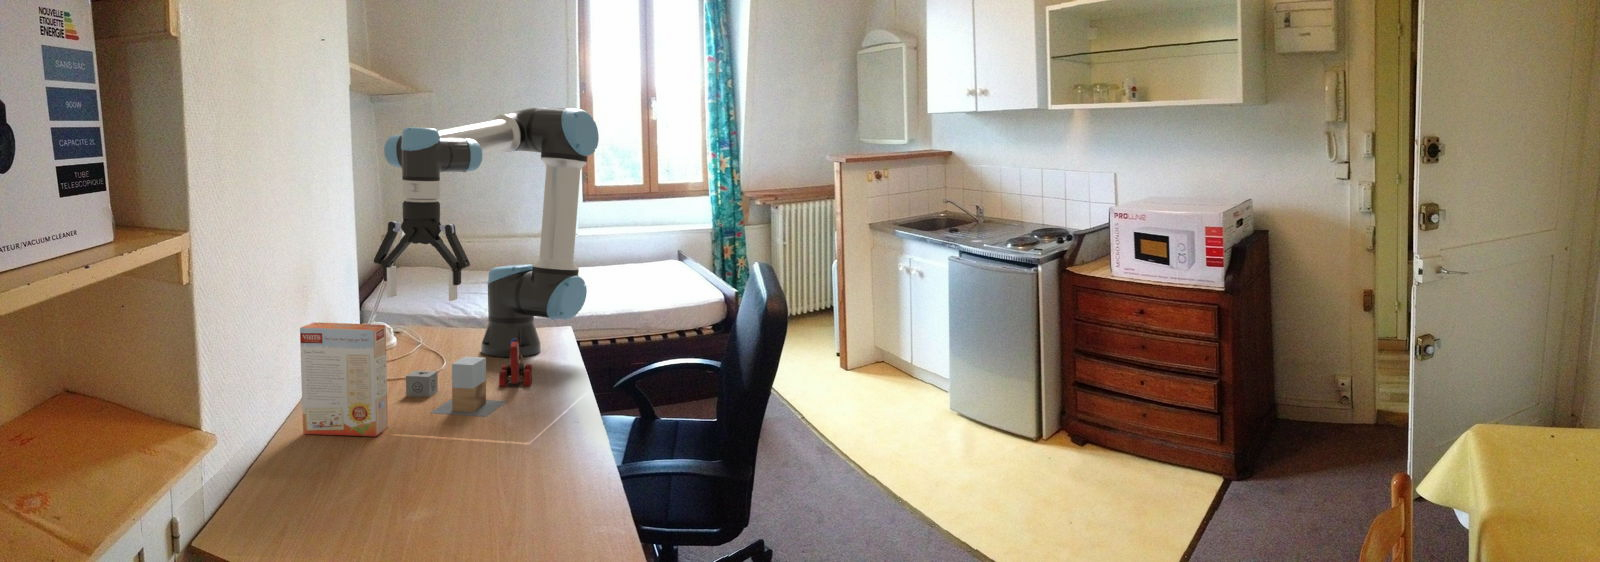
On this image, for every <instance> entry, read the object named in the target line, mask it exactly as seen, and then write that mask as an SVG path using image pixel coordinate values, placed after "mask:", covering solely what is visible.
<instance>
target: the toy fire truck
mask: <svg viewBox="0 0 1600 562" xmlns="http://www.w3.org/2000/svg"><path fill="white" fill-rule="evenodd" d="M510 344H511V347H510V356H509V357H508V359H509V363H508V365H507V364H502V365H501V369H500V370H499V375H498V380H499V381H498V383H499V388H505V387H507V385H508V382H511V384H512V385H515V384H519V383H520V382H522V383H523V385H522V386H523V387H524V388H525V387H531V384H532V383H531V382H532V381H533V366H532V364H524V363H523V362H522V361H523V356H522V355H521V354H520V352H519V340H518V339H516V338H514V339H512V340H511V342H510Z"/></svg>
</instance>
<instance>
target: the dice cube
mask: <svg viewBox="0 0 1600 562" xmlns="http://www.w3.org/2000/svg"><path fill="white" fill-rule="evenodd" d="M438 379H439V378H438V371H436V370H413V371H412V372H410V373H408V374H407V375H405V396H406V397H411V398H413V397H415V398H430V397H431V396H433V395H434V394H436V393H437V392H438V389H439V387H438Z"/></svg>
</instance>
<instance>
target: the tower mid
mask: <svg viewBox="0 0 1600 562" xmlns="http://www.w3.org/2000/svg"><path fill="white" fill-rule="evenodd" d="M486 359H487V357H481V356H464V357H462V358H460V359H458V360H456V361H454V362H453V363H452V364H451V388H452V387H454V388H470V389H473V388H475V387H476V386H478V385H480V384H481V383H483V382H484V381H486V382H487V360H486Z"/></svg>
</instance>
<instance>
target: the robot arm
mask: <svg viewBox="0 0 1600 562" xmlns="http://www.w3.org/2000/svg"><path fill="white" fill-rule="evenodd" d="M598 145H599V130H598V125H597V123H596V121H594V118H593V116H592V115H591V114H589V112H588V111H586V110H584V109H579V108H573V107H541V106H540V107H538V106H537V107H530V108H529V107H528V108H525V109H521V110H516V111H511V112H507V113H502V114H499V115H496V116H495V117H493V119H492V120H488V121H487V120H486V121H482V122H476V123H470V124H465V125H461V126H460V125H459V126H455V127H449V128H444V129H438V128H433V127H432V128H431V127H413V126H412V127H411V126H410V127H409V126H408V127H405V128H403V129H402V133H401V134H393V135H391V136H390V137H388V139H387V140H386V141H385V144H384V146H383V154H384V158H385V159H386V162H387V164H389V165H390V166H392V167H394V168H401V172H402V173H401V174H402V175H401V176H402V181H401V182H402V183H401V184H402V193H401V194H402V195H401V196H402V198H403V199H405V200H403V202H402V219H403V220H402V222H399V221H397V220H393V221H389V222H388V223H387V231H386V234H385V236H384V237H383V239H382V242H381V244H380V246H379V248H378V250H377V253H376V254H375V256H374V258H373V263H374V264H378V265H380V266H382V278H383V279H382V280H383V281H384V282H386V291H387V292H386V296H387V298H394V297H396V296H397V266H396V265H394V263H395V262H396V260H397V259H398V258H399V257H400V256H401V255H402V253H404V251H405V250H407V248H408V246H410V245H411V244H415V245H417V244H422V245H429V244H430V245H431V246H432V247H433V248H435V250H436V251H437V252H438V254H440V256H441V257H442V258H443V260H445V262H446V264H448V266H449V267H450V268H451V269H450V270H448V301H449V302H453V301H456V300H457V299H458V286H459V285H461V283H462V270H463V269H465V268H468V267H470V266H471V262H470V260H469V258H468V256H467V254H466V252H465V250H464V248H463V246H462V244H461V242H460V240H459V238H458V236H457V233H456V231H457V230H456V225H455V224H454V223H449V224H441V203H440V201H438V200H439V199H441V188H440V187H441V185H440V184H441V182H440V181H441V173H442V172H443V173H445V172H446V173H466V172H473V171H475V170H478V168H479V167H480V166H481V165H482V162H483V154H487V153H493V152H498V151H501V152H505V153H512V152H514V151H515V152H521V151H522V152H533V153H540V160H541V161H542V163H544V164H545V178H544V191H543V192H544V193H543V203H542V204H543V207H542V217H541V218H542V220H541V230H540V244H539V245H540V247H539V257H538V258H539V259H538V260H537V261H536V262H534V263H533V264H531V263H530V264H528V263H527V264H513V265H503V266H502V265H501V266H497V267H492V268H491V269H490V270H489V271H488V277H487V278H488V281H487V309H488V310H487V314H488V315H487V316H488V319H487V320H488V321H487V327H486V330H485V332H484V335H483V338H482V341H481V345H480V346H481V347H480V348H481V353H482V354H483V355H486V356H490V357H498V358H500V357H501V358H509V356H510V347H511V344H510V342H511V340H512V339H514V338H516V339H518V340H519V352H520V354H521V355H522V357H528V356H533V355H536V354H538V353H540V352H541V344H542V343H541V341H540V337H539V334H538V331H537V328H536V325H535V317H539V318H544V319H545V318H547V319H550V320H553V321H555V320H556V321H557V320H560V321H561V320H562V321H567V320H571V319H573V318H574V317H576V316H577V315H578V314H579V312H580V311H581V310H582V308H583V307H584V306H585V302H586V299H587V295H588V294H587V291H588V289H587V285H586V281H585V280H584V279H583V277H581V276H580V275H579V273H580V272H579V271H580V270H579V266H577V265H576V263H575V262H574V260H575V259H574V258H575V257H574V256H575V246H576V234H577V233H576V229H577V222H578V221H577V219H578V218H577V217H578V204H579V194H580V193H579V192H580V181H581V180H580V179H581V170H582V169H583V167H585V166H586V165H587V164H588V157H589V156H591V155H593V154H594V153H595V152H596V149H597V148H598ZM400 231H402V232H403V233H404V236H403V237H402V238H401V239H400V240H399V242H398V244H396V246H395V247H394V248H393V249H392V250H391V252H390V249H391V248H392V246H393V244H394V241H395V240H396V237H397V235H398V233H399V232H400ZM441 232H443V235H445V237H446V239H447V242H448V243H449V247H450V248H451V249H452V251H451V250H450V248H449V247H448V246H447V245H446V244H445V243H444V240H443V238H442V237H441V236H440V234H441ZM389 252H390V253H389ZM388 253H389V254H388Z"/></svg>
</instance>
